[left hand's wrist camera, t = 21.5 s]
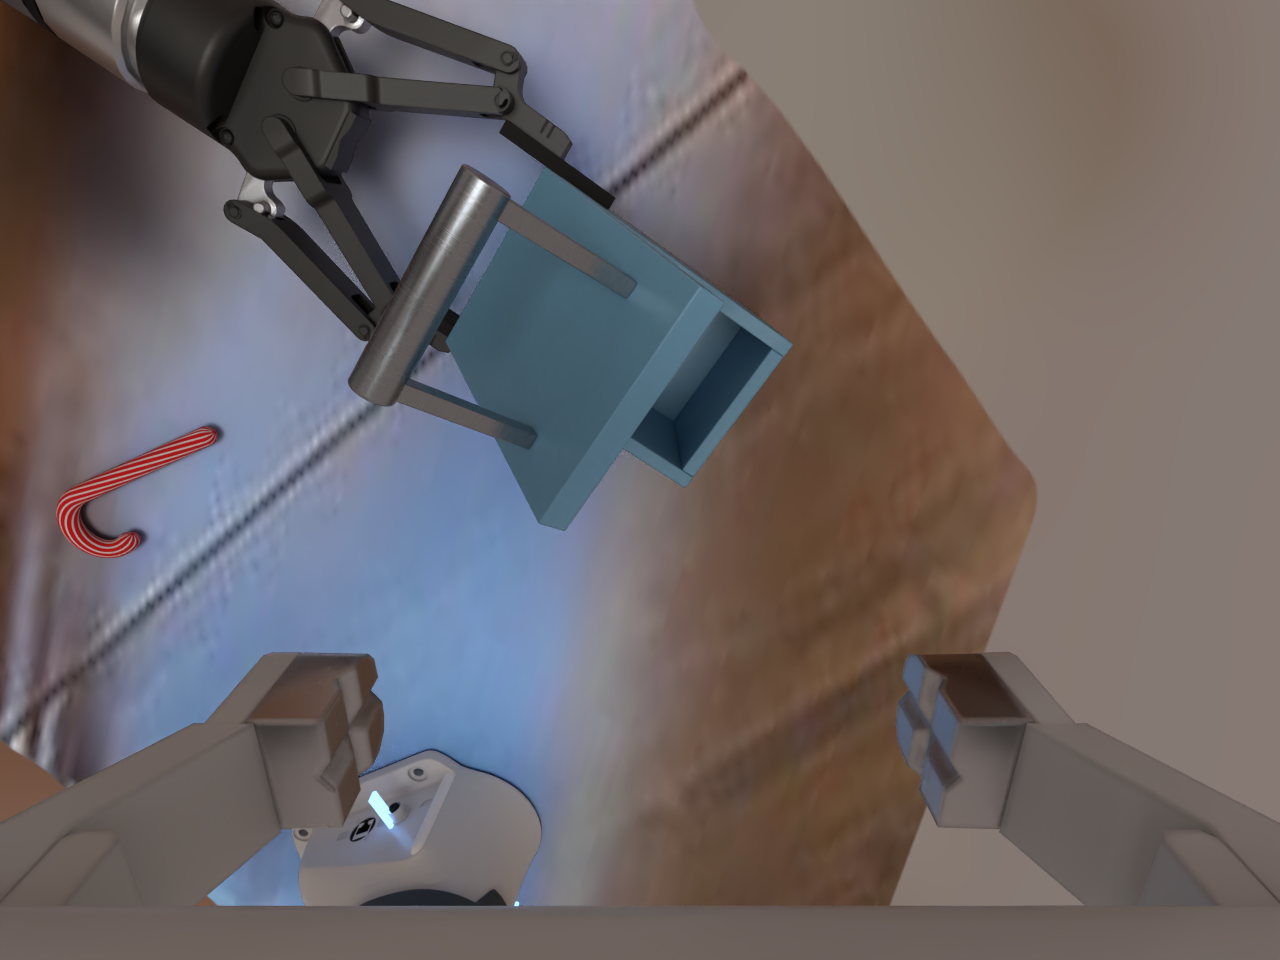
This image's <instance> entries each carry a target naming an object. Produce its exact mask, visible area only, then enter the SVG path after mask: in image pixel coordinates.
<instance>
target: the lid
mask: <svg viewBox="0 0 1280 960" xmlns="http://www.w3.org/2000/svg"><path fill="white" fill-rule="evenodd" d="M498 221H499V222H500V223H502V224H504V225H505V226H507V227H509V228H510V229H509V231H508V233H507V235H506V236H505V238H504V240H503V242H502V243H501V245H500V247H499V249H498V250H497V252H496V254H495V256H494V257H493V259H492V261H491V263H490V264H489V266H488V268H487V270H486V271H485V273H484V275H483V277H482V278H481V280H480V282H479V284H478V285H477V287H476V289H475V291H474V292H473V294H472V296H471V298H470V299H469V301H468V303H467V305H466V306H465V308H464V310H463V312H462V313H461V315H460V317H459V319H458V320H457V322H456V324H455V326H454V327H453V329H452V331H451V333H450V335H449V336H448V338H447V340H446V343H447V345H448V347H449V349H450V351H451V353H452V355H453V357H454V359H455V361H456V363H457V365H458V367H459V369H460V371H461V373H462V375H463V377H464V379H465V381H466V383H467V384H468V386H469V388H470V390H471V392H472V394H473V396H474V398H475V400H476V402H477V404H478V405H475V404H472V403H470V402H467V401H465V400H462V399H460V398H457V397H455V396H452V395H450V394H447V393H445V392H442V391H439V390H437V389H434V388H432V387H429V386H427V385H424V384H422V383H419V382H417V381H414V380H412V379H409V378H410V377H411V375H412V373H413V371H414V369H415V368H416V366H417V364H418V362H419V361H420V359H421V357H422V355H423V353H424V352H425V350H426V348H427V346H428V345H429V343H430V341H431V339H432V337H433V336H434V334H435V332H436V330H437V329H438V327H439V325H440V323H441V321H442V320H443V318H444V316H445V314H446V313H447V311H448V309H449V307H450V305H451V304H452V302H453V300H454V298H455V297H456V295H457V293H458V291H459V289H460V288H461V286H462V284H463V282H464V281H465V279H466V277H467V275H468V273H469V272H470V270H471V268H472V266H473V265H474V263H475V261H476V259H477V257H478V256H479V254H480V252H481V250H482V249H483V247H484V245H485V243H486V241H487V240H488V238H489V236H490V234H491V233H492V231H493V229H494V227H495V225H496V224H497V222H498ZM723 305H724V302H723V300H721V299H720V298H719V297H717V296H716V295H715V294H713V293H712V292H711V291H709V290H708V289H707V288H706V287H704V286H703V285H702V284H700V283H699V282H698V281H696V280H695V279H694V278H692V277H691V276H690V275H688V274H687V273H686V272H685V271H683V270H682V269H681V268H679V267H678V266H677V265H675V264H674V263H673V262H671V261H670V260H669V259H667V258H666V257H665V256H664V255H662V254H661V253H660V252H658V251H657V250H656V249H654V248H653V247H652V246H650V245H649V244H648V243H646V242H645V241H644V240H643V239H641V238H640V237H639V236H637V235H636V234H635V233H633V232H632V231H631V230H629V229H628V228H627V227H625V226H624V225H623V224H622V223H620V222H619V221H618V220H616V219H615V218H614V217H612V216H611V215H610V214H608V213H607V212H606V211H604V210H603V209H602V208H601V207H599V206H598V205H597V204H595V203H594V202H593V201H591V200H590V199H589V198H587V197H586V196H585V195H584V194H582V193H581V192H580V191H578V190H577V189H576V188H574V187H573V186H572V185H570V184H569V183H568V182H566V181H565V180H564V179H562V178H561V177H560V176H558V175H557V174H555V173H554V172H552V171H551V170H550V169H548V168H547V167H545V168H544V170H543V171H542V173H541V175H540V177H539V178H538V180H537V182H536V184H535V185H534V187H533V189H532V191H531V193H530V194H529V196H528V198H527V200H526V201H525V203H524V205H523V207H522V206H520V205H519V204H517V203H516V202H514V201H513V200H511V196H510V194H509V193H508V192H507V191H506V190H505V189H503V188H502V187H501V186H499V185H498V184H497V183H495V182H494V181H492V180H491V179H489V178H488V177H487V176H485V175H484V174H482V173H480V172H479V171H477V170H476V169H474V168H472V167H471V166H469V165H466V164H463V165H462V166H461V168H460V170H459V171H458V173H457V175H456V177H455V179H454V181H453V183H452V185H451V186H450V188H449V190H448V192H447V194H446V196H445V198H444V200H443V202H442V203H441V205H440V207H439V209H438V211H437V213H436V215H435V217H434V219H433V220H432V222H431V224H430V226H429V228H428V230H427V232H426V234H425V235H424V237H423V239H422V241H421V243H420V245H419V247H418V249H417V251H416V252H415V254H414V256H413V258H412V260H411V262H410V264H409V266H408V268H407V269H406V271H405V273H404V275H403V277H402V279H401V281H400V283H399V284H398V286H397V288H396V290H395V292H394V294H393V296H392V298H391V300H390V301H389V303H388V305H387V307H386V309H385V311H384V313H383V315H382V317H381V318H380V320H379V322H378V324H377V326H376V328H375V330H374V332H373V334H372V335H371V337H370V339H369V341H368V343H367V345H366V347H365V349H364V350H363V352H362V354H361V356H360V358H359V360H358V362H357V364H356V366H355V367H354V369H353V371H352V373H351V375H350V377H349V379H348V384H349V386H350V388H351V389H352V390H353V391H354V392H355V393H356V394H358V395H359V396H360V397H362V398H364V399H365V400H367V401H369V402H372V403H374V404H377V405H381V406H392V405H394V404H395V403H396V402H399V403H402V404H405V405H407V406H410V407H413V408H416V409H418V410H421V411H424V412H426V413H429V414H432V415H435V416H437V417H440V418H443V419H446V420H448V421H451V422H454V423H457V424H459V425H462V426H465V427H468V428H470V429H473V430H476V431H478V432H481V433H484V434H487V435H489V436H492V437H495V439H496V441H497V443H498V445H499V447H500V449H501V451H502V453H503V455H504V457H505V459H506V461H507V463H508V464H509V466H510V468H511V470H512V472H513V474H514V476H515V478H516V480H517V482H518V484H519V486H520V488H521V490H522V492H523V494H524V496H525V498H526V500H527V502H528V503H529V505H530V507H531V509H532V511H533V513H534V515H535V517H536V519H537V521H538V523H539V524H542V525H546V526H549V527H553V528H556V529H560V530H563V531H565V530H566V529H567V527H568V526H569V524H570V523H571V522H572V520H573V519H574V517H575V516H576V514H577V513H578V512H579V510H580V509H581V507H582V506H583V505H584V503H585V502H586V500H587V499H588V497H589V496H590V495H591V493H592V492H593V490H594V489H595V487H596V486H597V485H598V483H599V482H600V480H601V479H602V477H603V476H604V475H605V473H606V472H607V470H608V469H609V467H610V466H611V465H612V463H613V462H614V460H615V459H616V457H617V456H618V455H619V453H620V452H621V450H622V449H623V447H624V446H625V445H626V443H627V442H628V440H629V439H630V437H631V436H632V435H633V433H634V432H635V430H636V429H637V427H638V426H639V425H640V423H641V422H642V420H643V419H644V417H645V416H646V415H647V413H648V412H649V410H650V409H651V407H652V406H653V405H654V403H655V402H656V400H657V399H658V397H659V396H660V395H661V393H662V392H663V390H664V389H665V387H666V386H667V385H668V383H669V382H670V380H671V379H672V378H673V376H674V375H675V373H676V372H677V370H678V369H679V368H680V366H681V365H682V363H683V362H684V360H685V359H686V358H687V356H688V355H689V353H690V352H691V350H692V349H693V348H694V346H695V345H696V343H697V342H698V340H699V339H700V338H701V336H702V335H703V333H704V332H705V330H706V329H707V328H708V326H709V325H710V323H711V322H712V320H713V319H714V318H715V316H716V315H717V313H718V312H719V310H720V309H721V308H722V306H723Z"/></svg>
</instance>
